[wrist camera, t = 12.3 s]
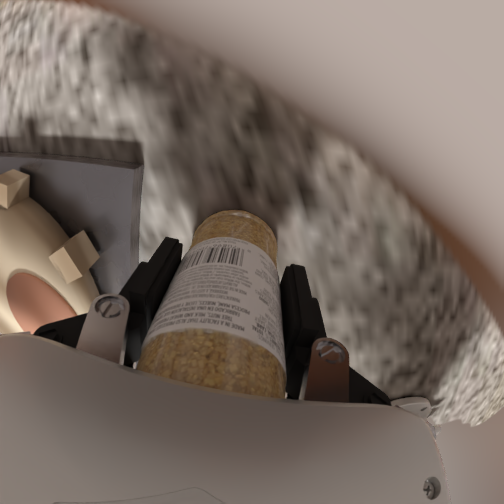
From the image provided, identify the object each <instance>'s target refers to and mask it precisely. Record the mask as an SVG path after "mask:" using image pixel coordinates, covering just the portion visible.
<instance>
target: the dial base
mask: <svg viewBox="0 0 504 504" xmlns="http://www.w3.org/2000/svg"><path fill="white" fill-rule="evenodd" d="M12 169H15V170H17V171H20V172H22V173H25V174H28V175H30V183H29V197H30V198H32V199H33V200H34V201H36V202H37V203H38V204H40V205H41V206H42V207H43V208H44V209H45V210H46V211H47V212H48V213H49V214H50V215H51V216H52V217H53V218H54V219H55V220H56V222H57V223H58V224H59V225H60V226H61V228H62V229H63V230H64V231H65V233H66V234H67V235H68V237H69V238H72V237H73V236H75V235H76V234H78V233H79V232H81V231H82V230H84V231H85V233H86V235H87V236H88V238H89V240H90V241H91V243H92V245H93V246H94V248H95V250H96V251H97V253H98V254H99V256H100V257H99V259H98V260H97V261H96V262H95V263H94V264H93V265H92V266H91V267H90V268H89V271H90V273H91V275H92V277H93V279H94V282H95V284H96V287H97V289H98V292H99V295H103V294H107V293H114V294H119V293H120V291H121V290H122V288H123V287H124V285H125V284H126V282H127V281H128V279H129V278H130V277H131V275H132V274H133V272H134V271H135V269H136V268H137V267H138V252H139V220H140V203H141V190H142V179H143V169H144V165H143V164H136V163H129V162H121V161H113V160H105V159H96V158H87V157H77V156H65V155H53V154H37V153H15V152H0V175H1V174H3V173H5V172H7V171H10V170H12ZM137 364H138V361H137V362H136V367H137ZM136 367H135V369H136Z"/></svg>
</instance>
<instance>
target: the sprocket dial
mask: <svg viewBox="0 0 504 504" xmlns="http://www.w3.org/2000/svg"><path fill="white" fill-rule="evenodd" d="M29 183H30V175H28V174H25V173H22V172H20V171H17V170H15V169H12V170H10V171H7V172H5V173H3V174H1V175H0V332H1V333H2V334H9V333H18V332H27V331H30V333H31V334H34V332H35V331H36V330H37V329H38V328H39V327H40V326H43V325H45V324H48V323H52V322H56V321H59V320H63V319H67V318H70V317H74V316H77V315H81V314H85V313H88V311H89V308H90V306H91V303H92V302H93V300H94V299H95V298H97V297H98V296H100V295H99V292H98V289H97V287H96V284H95V282H94V279H93V277H92V275H91V273H90V271H89V268H90V267H91V266H92V265H93V264H94V263H95V262H96V261H97V260H98V259H99V257H100V256H99V254H98V253H97V251H96V250H95V248H94V246H93V245H92V243H91V241H90V240H89V238H88V236H87V235H86V233H85V231H84V230H82V231H81V232H79V233H78V234H76V235H75V236H73V237H72V238H69V237H68V235H67V234H66V233H65V231H64V230H63V229H62V228H61V226H60V225H59V224H58V223H57V222H56V220H55V219H54V218H53V217H52V216H51V215H50V214H49V213H48V212H47V211H46V210H45V209H44V208H43V207H42V206H41V205H40V204H38V203H37V202H36V201H34V200H33V199H32V198H30V197H29Z"/></svg>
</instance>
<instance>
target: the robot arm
mask: <svg viewBox="0 0 504 504" xmlns="http://www.w3.org/2000/svg"><path fill="white" fill-rule="evenodd" d="M182 247H183V244H181V243H179V240H178V239H174V238H169V237H165V239H164V240H163V242H162V243H161V244H160V246H159V247H158V249H157V250H156V252H155V253H154V254H153V256H152V257H151V259H150V260H149V262H148V263H147V262H141V263H140V264H139V265H138V267H137V268H136V269H135V271H134V272H133V274H132V275H131V277H130V278H129V279H128V281H127V282H126V284H125V285H124V287H123V288H122V290H121V291H120V293H119V294H114V293H107V294H103V295H100V296H98V297H97V298H95V299H94V300H93V302H92V303H91V306H90V308H89V311H88V313H85V314H81V315H77V316H74V317H70V318H67V319H63V320H59V321H56V322H52V323H48V324H45V325H43V326H40V327H39V328H38V329H37V330H36V331H35V332H34V334H31V333H30V331H27V332H18V333H9V334H0V504H451V498H450V492H449V488H448V482H447V477H446V473H445V469H444V465H443V462H442V458H441V455H440V452H439V449H438V446H437V443H436V434H439V433H440V432H441V426H440V425H434V426H432V424H430V423H429V422H428V421H427V418H428V417H429V415H430V413H431V405H430V402H429V401H428V400H427V399H426V398H423V397H407V398H402V399H397V400H394V401H390V399H389V398H388V396H387V395H386V394H385V393H384V392H382V391H381V390H380V389H378V388H377V387H376V386H374V385H373V384H372V383H370V382H369V381H368V380H367V379H365V378H364V377H363V376H361V375H360V374H359V373H357V372H356V371H355V370H353V369H352V368H351V367H350V366H349V353H348V351H347V349H346V348H345V347H344V346H343V344H341V343H340V342H338V341H337V340H334V339H332V338H327V336H326V332H325V328H324V323H323V319H322V315H321V311H320V307H319V303H318V300H317V299H316V298H313V297H312V296H311V291H310V287H309V283H308V279H307V274H306V270H305V267H304V266H300V265H295V264H291V266H290V267H289V266H286V268H285V271H284V274H283V277H282V280H281V283H280V295H281V308H282V321H283V336H284V349H285V362H286V378H287V381H286V386H285V399H281V398H272V397H264V396H257V395H249V394H243V393H236V392H230V391H224V390H219V389H214V388H209V387H204V386H199V385H194V384H190V383H185V382H181V381H177V380H173V379H169V378H165V377H161V376H157V375H154V374H150V373H146V372H143V371H140V370H136V369H135V367H136V362H137V361H139V359H140V355H141V347H142V345H143V342H144V340H145V337H146V335H147V333H148V330H149V328H150V326H151V324H152V321H153V319H154V317H155V315H156V313H157V310H158V308H159V306H160V304H161V302H162V299H163V297H164V295H165V293H166V291H167V289H168V287H169V285H170V283H171V281H172V279H173V277H174V275H175V273H176V271H177V269H178V267H179V265H180V263H181V257H182Z"/></svg>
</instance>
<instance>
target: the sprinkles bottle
mask: <svg viewBox="0 0 504 504" xmlns="http://www.w3.org/2000/svg"><path fill="white" fill-rule="evenodd" d="M276 257H277V242H276V239H275V236H274V234H273V232H272V229H271V228H270V227H269V226H268V225H267V224H266V223H265V222H264V221H263V220H261V219H260V218H259V217H257V216H256V215H253V214H251V213H249V212H246V211H241V210H228V211H221V212H218V213H216V214H213V215H211V216H210V217H208V218H206V219H205V221H203V223H202V224H201V225H200V226H198V228H197V230H196V232H195V234H194V237H193V240H192V245H191V247H190V249H189V251H188V252H187V253H186V254H185V256H184V257H183V259H182V261H181V263H180V265H179V267H178V269H177V271H176V273H175V275H174V277H173V279H172V281H171V283H170V285H169V287H168V289H167V291H166V293H165V295H164V297H163V299H162V302H161V304H160V306H159V308H158V310H157V313H156V315H155V317H154V319H153V321H152V324H151V326H150V328H149V330H148V333H147V335H146V337H145V340H144V342H143V345H142V347H141V355H140V359H139V361H138V364H137V367H136V370H140V371H143V372H146V373H150V374H154V375H157V376H161V377H165V378H169V379H173V380H177V381H181V382H185V383H190V384H194V385H199V386H204V387H209V388H214V389H219V390H224V391H230V392H236V393H243V394H249V395H257V396H264V397H272V398H281V399H285V386H286V381H287V378H286V362H285V349H284V336H283V321H282V308H281V295H280V283H279V276H278V272H277V263H276Z"/></svg>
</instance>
